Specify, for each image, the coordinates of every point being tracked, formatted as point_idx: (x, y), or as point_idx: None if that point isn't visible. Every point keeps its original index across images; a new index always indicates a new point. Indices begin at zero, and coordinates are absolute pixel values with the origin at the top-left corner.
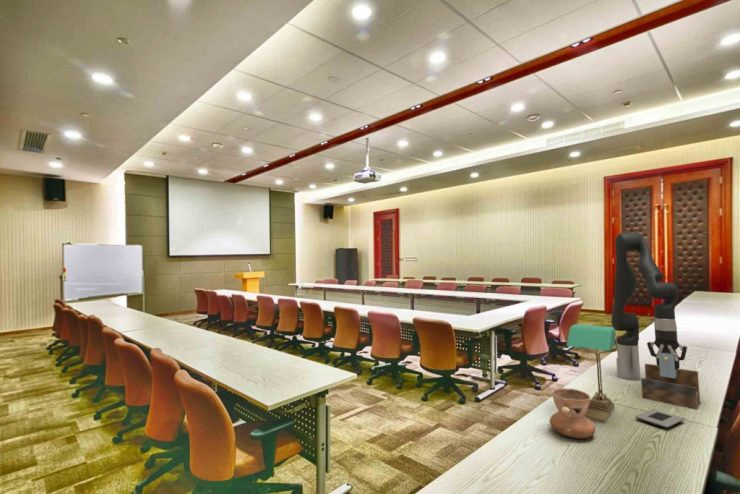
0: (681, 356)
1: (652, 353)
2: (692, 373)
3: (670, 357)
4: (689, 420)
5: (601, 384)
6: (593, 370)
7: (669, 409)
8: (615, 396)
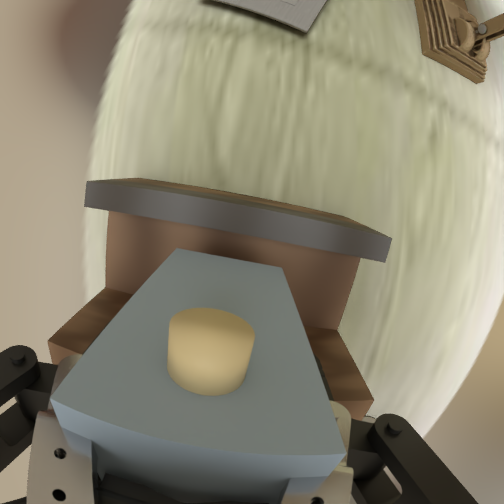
0: (1, 380)
1: (400, 444)
2: (74, 341)
3: (128, 373)
4: (181, 30)
5: (498, 21)
6: (427, 430)
7: (241, 109)
8: (434, 185)
